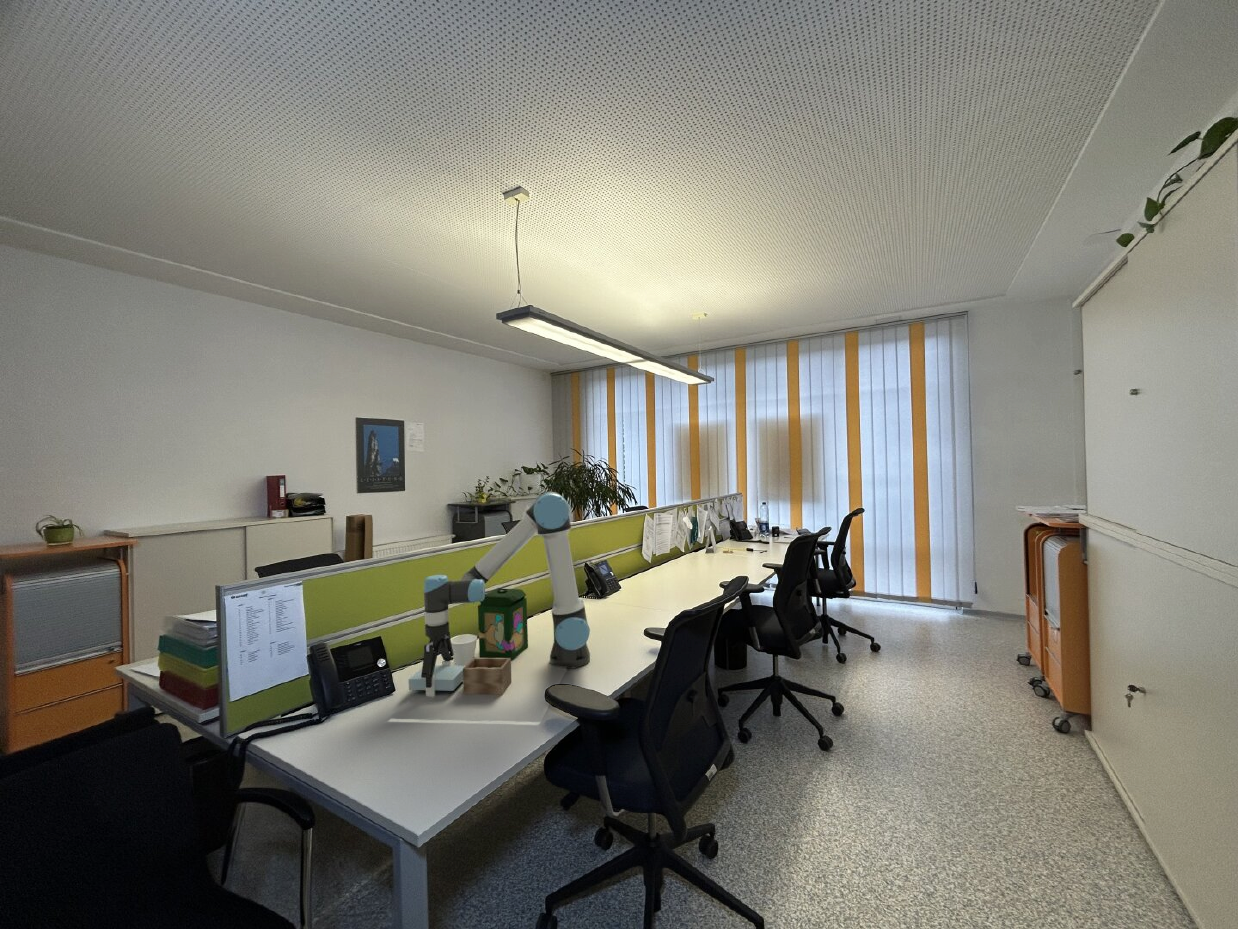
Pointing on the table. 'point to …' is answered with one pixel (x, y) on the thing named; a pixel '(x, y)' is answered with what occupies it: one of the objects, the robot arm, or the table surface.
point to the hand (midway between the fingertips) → (439, 688)
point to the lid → (439, 678)
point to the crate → (487, 676)
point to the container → (503, 624)
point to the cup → (463, 648)
